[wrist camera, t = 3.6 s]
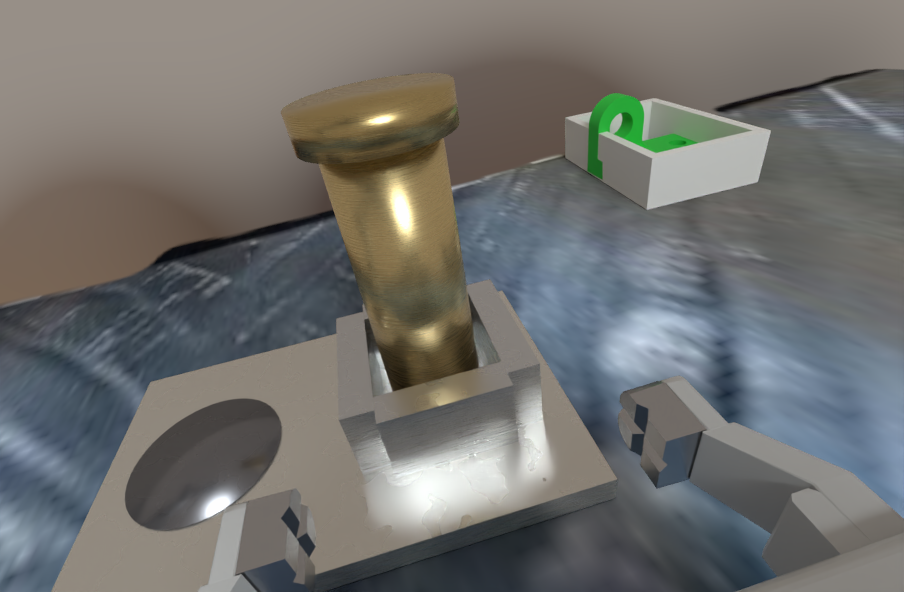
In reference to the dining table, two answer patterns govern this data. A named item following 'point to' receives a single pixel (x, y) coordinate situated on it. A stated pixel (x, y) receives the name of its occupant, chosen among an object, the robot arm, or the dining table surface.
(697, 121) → the parts tray
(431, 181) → the brass flanged pin
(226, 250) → the dining table surface
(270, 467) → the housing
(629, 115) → the mechanical part
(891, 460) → the dining table surface
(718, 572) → the dining table surface
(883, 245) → the dining table surface
